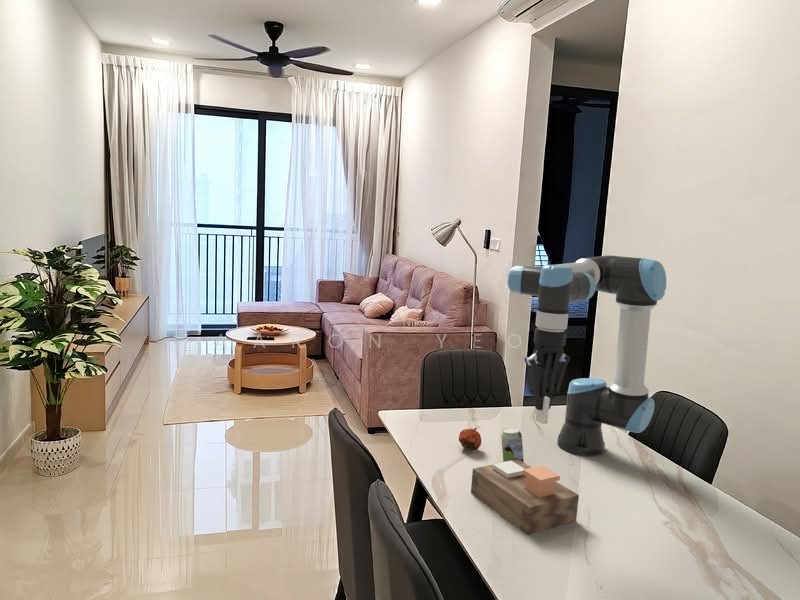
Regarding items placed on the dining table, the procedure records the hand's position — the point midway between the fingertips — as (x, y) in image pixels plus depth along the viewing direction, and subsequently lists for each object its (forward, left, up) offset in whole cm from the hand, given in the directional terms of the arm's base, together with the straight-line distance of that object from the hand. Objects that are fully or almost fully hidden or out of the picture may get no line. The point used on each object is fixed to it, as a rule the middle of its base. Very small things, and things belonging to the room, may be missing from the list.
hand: (541, 421), depth 150 cm
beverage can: (-13, -25, -25) cm, 38 cm away
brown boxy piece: (0, -5, -25) cm, 25 cm away
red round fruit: (-9, -41, -25) cm, 49 cm away
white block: (0, -11, -25) cm, 27 cm away
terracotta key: (0, +1, -21) cm, 21 cm away
